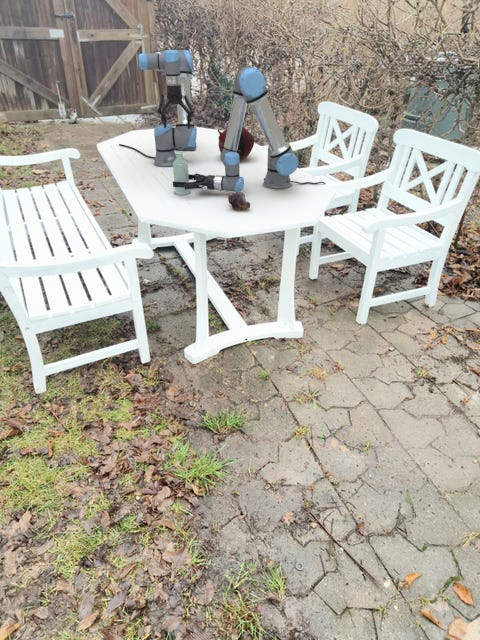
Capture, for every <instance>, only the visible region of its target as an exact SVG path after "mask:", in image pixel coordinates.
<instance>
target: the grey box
mask: <svg viewBox="0 0 480 640" xmlns="http://www.w3.org/2000/svg"><path fill="white" fill-rule="evenodd" d="M196 149H197V142H196V143H195V146H193V147H174V150H177V151H195V150H196Z"/></svg>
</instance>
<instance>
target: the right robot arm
mask: <svg viewBox="0 0 480 640" xmlns="http://www.w3.org/2000/svg"><path fill="white" fill-rule="evenodd" d="M231 94H232V95H233V99H232V102H231V103H232V104H231V109H230V114H229V118H228V123H227V127H226V130H227V133H226V138H225V143H224V148H223V151H222V152H220V161H221V163H222V164H223V166H224V174H225V175H219V174H217V175H214V174H208V175H206V174H205V175H204V174H200V173H198V172H197V173H193V174H189V173H188V175H189V182H188V183H186V182H174V180H173V181H172V188H175V187H182V188H185V189H190V190H196V189H204V187H206V189H207V190H209V191H214V190H215V191H219V192H222V191H223V192H224V191H225V192H233V193H236V192H242V191H243V190H244V187H245V178H244V177H243V176H241V175H240V161H241V160H240V159H239V154H238V153H237V149H238V144H239V140H240V135H241V131H242V127H243V126H244V122H245V116H246V112H247V109H248V108H247V107H248V105H249V106H250V107H251V109H252V112H253V113H254V116H255V118H256V120H257V123H258V124H259V128H260V129H261V131H262V134H263V137H264V139H265V140H266V143H267V145H268V146H267V169H266V171H267V172H266V173H265V176H264V178H263V186H264V187H266V188H269V189H272V190H273V189H274V190H283V189H287V188H289V187H291V185H292V184H291V183H294V184H299V185H307V184H310V185H319V184H323V185H326V184H327V183H326V182H325V181H317V182H311V181H305V182H299V181H296V180H295V181H294V180H291V177H290V175H292V174H294V173H295V172H296V170H297V169H298V167H299V160H298V157H297V155H296V154H295V153H294V151H293V148H292V146H291V144H290V142H287V141H286V139H285V136H284V134H283V131H282V130H281V128H280V125H279V122H278V119H277V118H276V115H275V113H274V110H273V107H272V106H271V103H270V101H269V98H268V95H269V90H268V88H267V85H266V78H265V76H264V74H263V73H262V71H260V70H259V69H257V68H256V67H253V66H250V65H243V66H242V67H240V68H239V69H238V70H237V72H236V74H235V76H234V82H233V89H232V93H231Z"/></svg>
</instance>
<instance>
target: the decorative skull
mask: <svg viewBox="0 0 480 640" xmlns="http://www.w3.org/2000/svg"><path fill="white" fill-rule="evenodd" d="M217 133H218V150H219V152H220V153H221V152H222V151H223V148H224V143H225V138H226V133H227V129H225V130H223V131H221V130H220V129H217ZM254 146H255V138H254V136H253V135H252V133H251V132H249V130H247V129H246V128H245V127H243V126H242V131H241V135H240V140H239V144H238V149H237V153H238V154H239V159H240V161H242V160H244V159H246V158H248V157H249V155H251V152H252V151H253V148H254Z"/></svg>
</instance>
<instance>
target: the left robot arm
mask: <svg viewBox="0 0 480 640" xmlns="http://www.w3.org/2000/svg"><path fill="white" fill-rule="evenodd" d="M137 58H138V67H139V69H140V70H142V71H153V70H154V71H157V72H162V73H165V82H166V94H165V93H163V94H162V95H161V99H160V103H159V106H158V109H157V112H156V113H157V114H159V115H160V118H161V122H162V123H163V124H162V125H158V126H156V127H155V128H154V129H153V136H154V145H155V155H154V156H152V155H148V154H145V153H143V152H142V151H141V150H139V149H137V148H135V147H133V146H129V145H126V144H123V143H119V144H118V145H119V146H122V147H125V148H128V149H132V150H134V151H136V152H137V153H139V154H141V155H142V156H144V157H145V158H150V159H154V165H155V166H157V167H163V168H164V167H165V168H167V167H168V168H169V167H173V162H174V161H175V160H176V151H175V149H174V147H193V146H195V143H196V144H197V134H198V133H197V131H198V129H197V127H196V126H195V123H194V122H193V119H192V116H193V115H194V114H196V111H195V110H194V108H193V106H192V100H191V99H192V98H191V97H192V96H191V78H192V76H193V73H194V72H195V65H194V59H193V54H192V51H190V50H187V49H167V50H161V51H155V52H153V53H150V52H149V53H148V52H147V53H146V52H144V53H139V54H138V57H137ZM166 100H168V101H167V103H165V101H166ZM164 104H165V105H164ZM170 105H176V109H177V111H176V112H177V122H176V123H175V127H174V126H173V125H172V124H167V114H166V111H167V110H168V109H169V107H170ZM163 106H164V107H163Z"/></svg>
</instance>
